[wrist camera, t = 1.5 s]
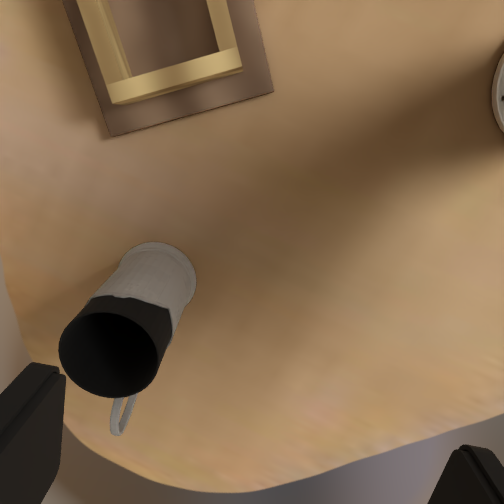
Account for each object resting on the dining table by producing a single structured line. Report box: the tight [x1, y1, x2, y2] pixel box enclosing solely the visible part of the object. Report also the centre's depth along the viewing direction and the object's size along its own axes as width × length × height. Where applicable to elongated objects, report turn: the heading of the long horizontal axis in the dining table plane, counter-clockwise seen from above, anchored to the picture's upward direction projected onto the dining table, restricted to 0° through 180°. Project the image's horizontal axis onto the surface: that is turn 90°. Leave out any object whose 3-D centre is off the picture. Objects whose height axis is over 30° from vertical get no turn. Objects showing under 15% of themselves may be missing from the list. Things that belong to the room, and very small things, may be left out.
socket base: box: [62, 0, 274, 137], centre depth 33 cm, size 16×16×5 cm
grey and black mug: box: [58, 242, 196, 436], centre depth 37 cm, size 9×14×15 cm, turn 173°
